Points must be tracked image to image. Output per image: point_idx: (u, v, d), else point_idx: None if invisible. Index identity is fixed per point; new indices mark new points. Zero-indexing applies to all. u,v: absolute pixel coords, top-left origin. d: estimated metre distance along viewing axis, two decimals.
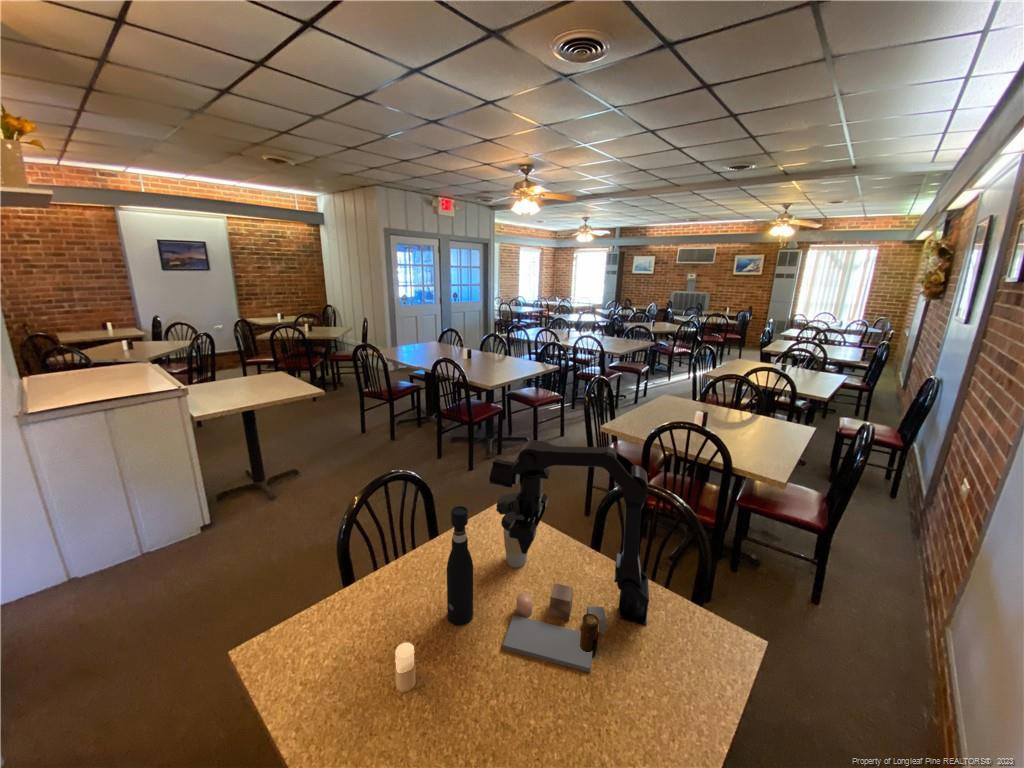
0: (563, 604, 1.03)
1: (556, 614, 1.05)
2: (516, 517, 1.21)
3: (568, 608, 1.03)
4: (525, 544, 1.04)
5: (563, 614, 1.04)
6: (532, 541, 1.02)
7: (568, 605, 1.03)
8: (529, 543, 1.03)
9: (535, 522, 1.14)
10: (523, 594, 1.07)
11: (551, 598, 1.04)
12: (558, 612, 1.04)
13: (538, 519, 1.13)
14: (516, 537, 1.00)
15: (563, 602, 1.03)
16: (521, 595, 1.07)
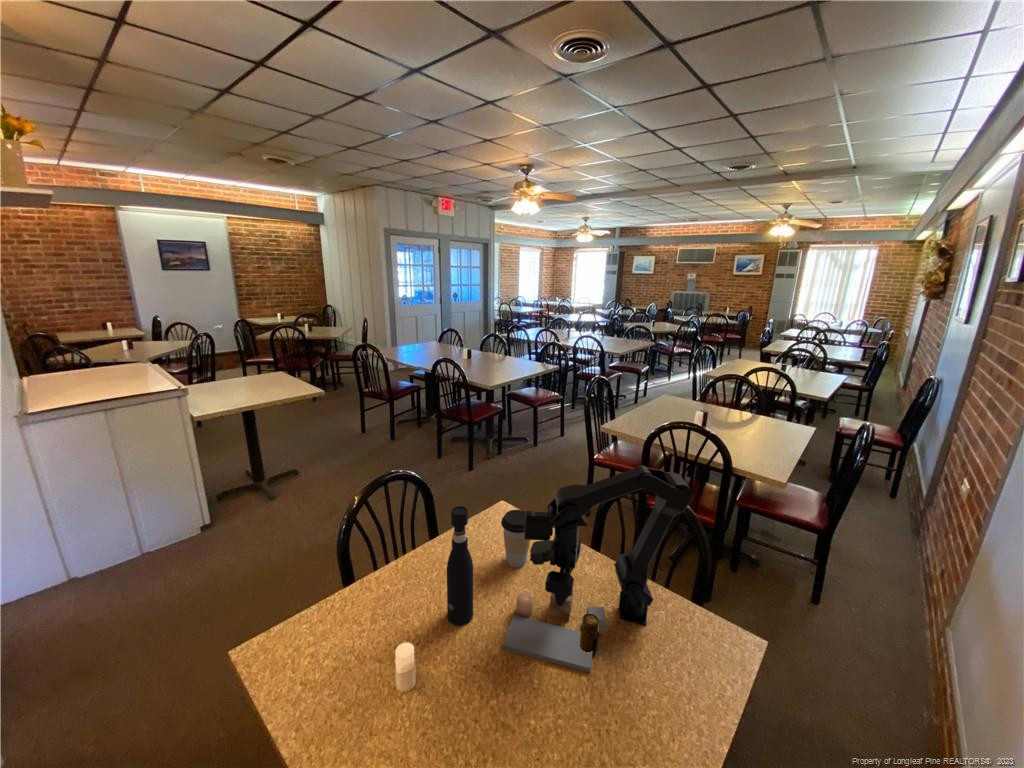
0: (563, 604, 1.03)
1: (556, 614, 1.05)
2: (516, 517, 1.21)
3: (568, 608, 1.03)
4: (561, 597, 0.99)
5: (563, 614, 1.04)
6: None
7: (568, 605, 1.03)
8: (566, 596, 0.98)
9: None
10: (523, 594, 1.07)
11: (551, 598, 1.04)
12: (558, 612, 1.04)
13: None
14: (553, 591, 0.95)
15: None
16: (521, 595, 1.07)
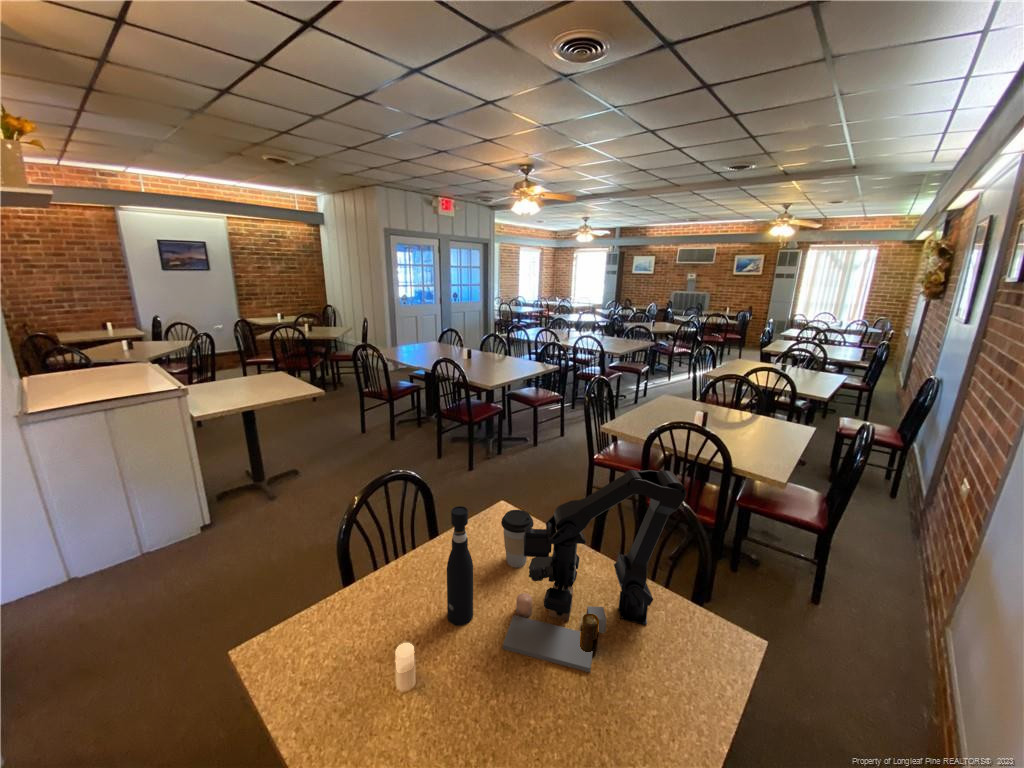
0: None
1: (556, 614, 1.05)
2: (516, 517, 1.21)
3: None
4: None
5: (563, 614, 1.04)
6: None
7: None
8: None
9: None
10: (523, 594, 1.07)
11: None
12: None
13: None
14: (552, 609, 0.96)
15: None
16: (521, 595, 1.07)
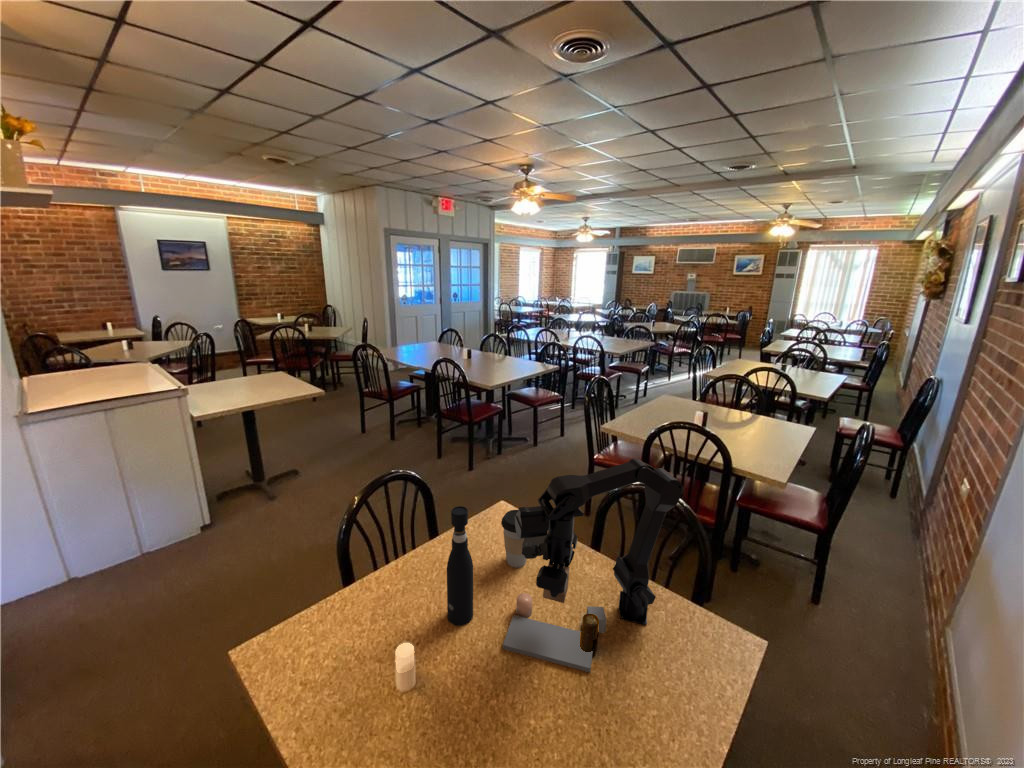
0: None
1: (550, 595, 0.97)
2: None
3: None
4: None
5: (558, 595, 0.97)
6: None
7: None
8: None
9: None
10: (523, 594, 1.07)
11: None
12: None
13: None
14: (545, 587, 0.89)
15: None
16: (521, 595, 1.07)
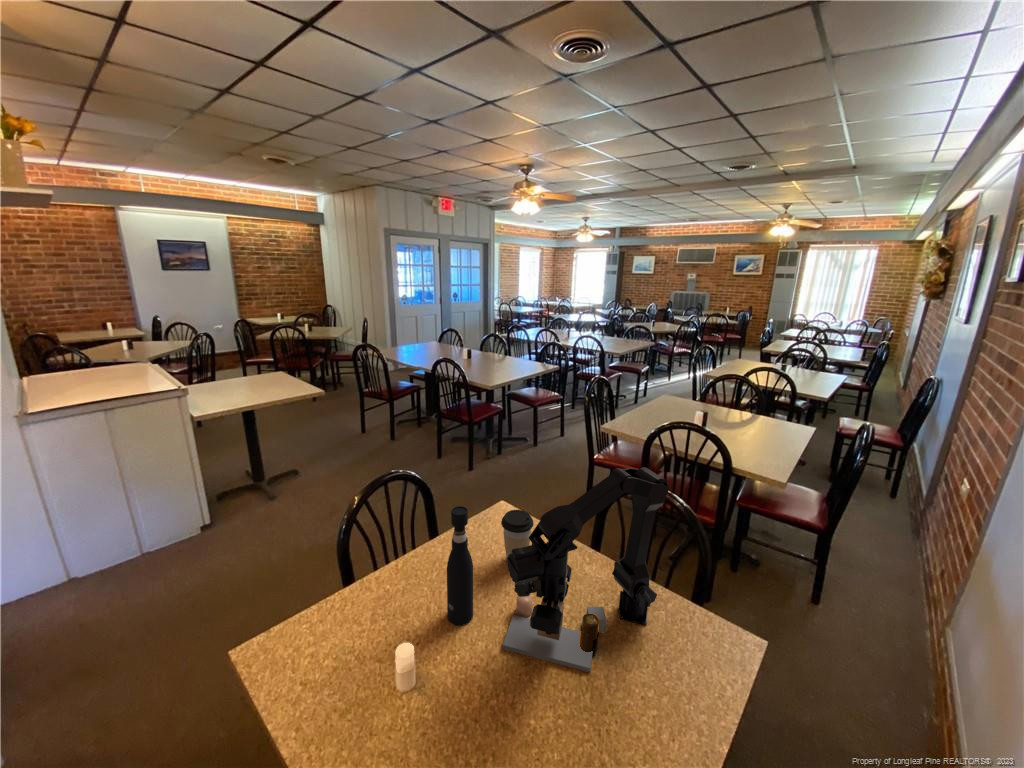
0: None
1: (545, 632, 0.94)
2: (516, 517, 1.21)
3: None
4: None
5: None
6: None
7: None
8: None
9: None
10: None
11: None
12: None
13: None
14: (539, 628, 0.86)
15: None
16: None
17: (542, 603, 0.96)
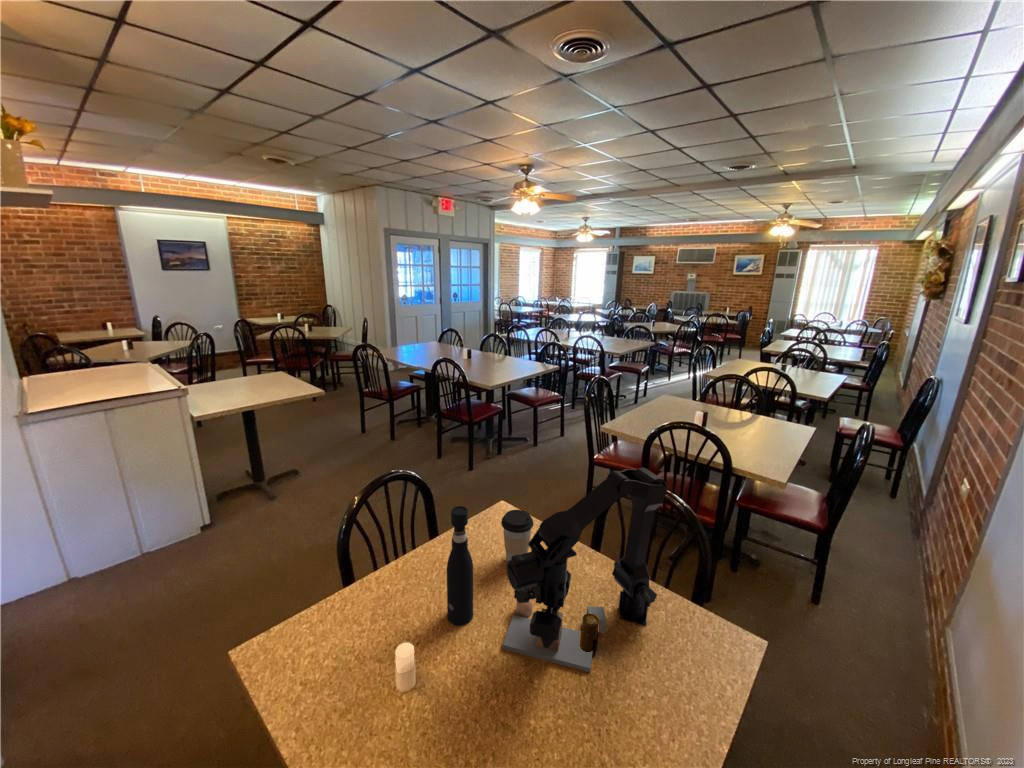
0: None
1: None
2: (516, 517, 1.21)
3: None
4: (548, 639, 0.90)
5: (551, 644, 0.94)
6: None
7: None
8: None
9: None
10: None
11: None
12: None
13: None
14: (538, 635, 0.86)
15: None
16: None
17: None
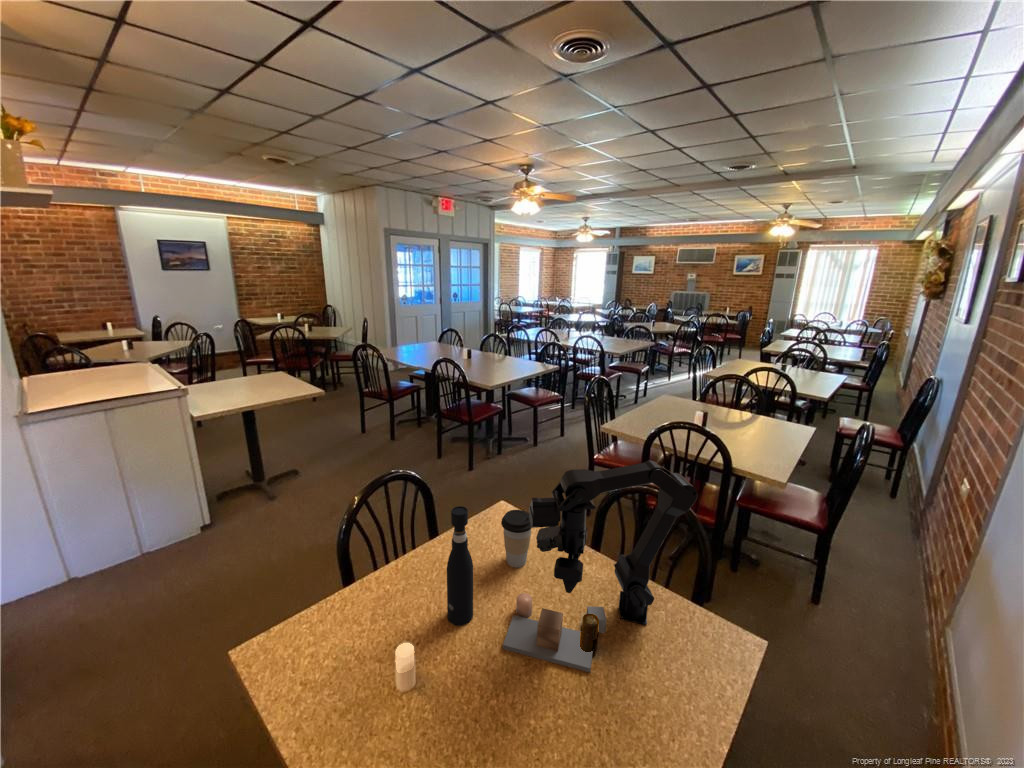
0: (551, 633, 0.94)
1: (544, 643, 0.95)
2: (516, 517, 1.21)
3: (557, 637, 0.93)
4: (570, 583, 0.96)
5: (551, 644, 0.94)
6: None
7: (557, 634, 0.93)
8: (575, 582, 0.95)
9: None
10: (523, 594, 1.07)
11: (538, 626, 0.94)
12: (546, 641, 0.95)
13: (579, 552, 1.05)
14: (563, 578, 0.92)
15: (551, 631, 0.93)
16: (521, 595, 1.07)
17: (541, 614, 0.97)
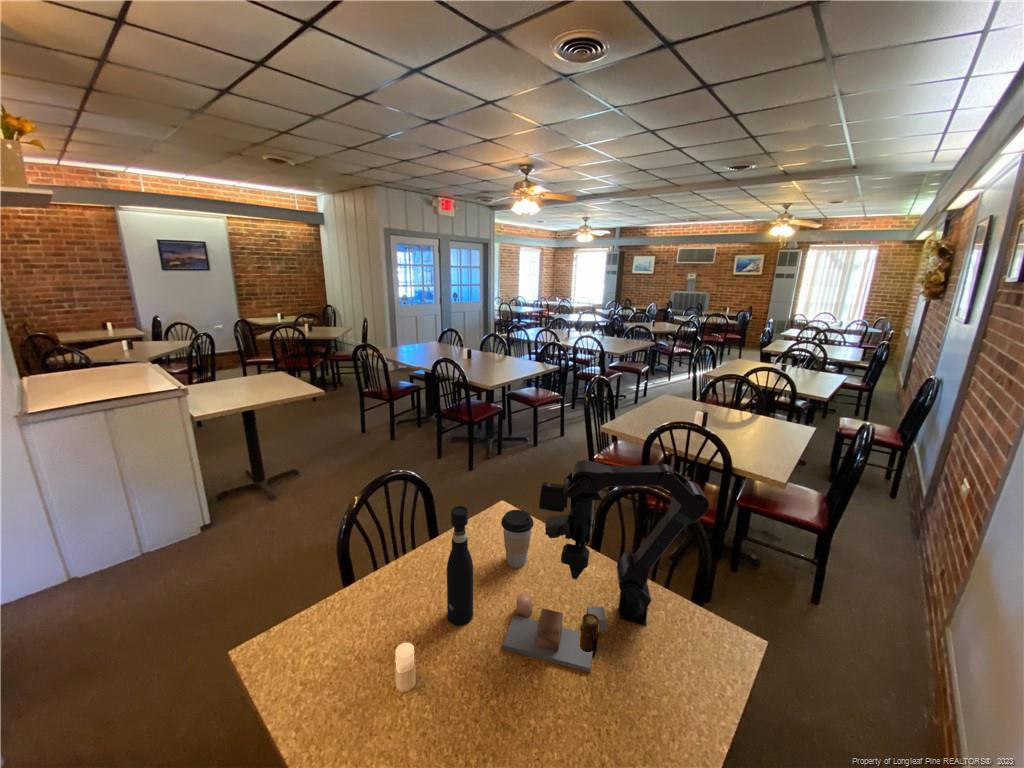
0: (551, 633, 0.94)
1: (544, 643, 0.95)
2: (516, 517, 1.21)
3: (557, 637, 0.93)
4: (577, 569, 0.99)
5: (551, 644, 0.94)
6: None
7: (557, 634, 0.93)
8: (581, 569, 0.99)
9: None
10: (523, 594, 1.07)
11: (538, 626, 0.94)
12: (546, 641, 0.95)
13: (586, 541, 1.09)
14: (569, 563, 0.95)
15: (551, 631, 0.93)
16: (521, 595, 1.07)
17: (541, 614, 0.97)
